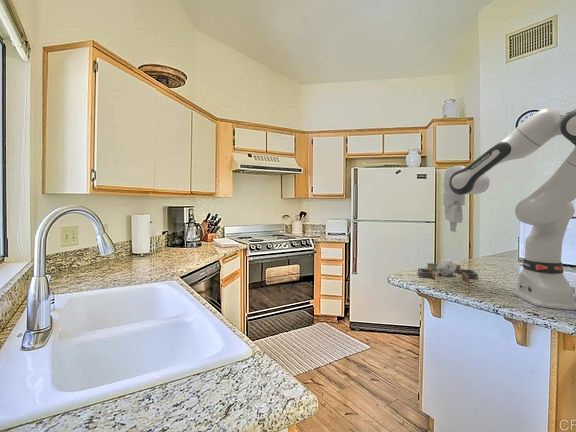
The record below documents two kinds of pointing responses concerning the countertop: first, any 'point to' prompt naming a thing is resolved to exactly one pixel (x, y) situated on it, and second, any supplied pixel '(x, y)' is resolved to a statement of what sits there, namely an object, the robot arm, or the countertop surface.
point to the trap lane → (465, 273)
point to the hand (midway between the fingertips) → (453, 231)
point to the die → (446, 267)
